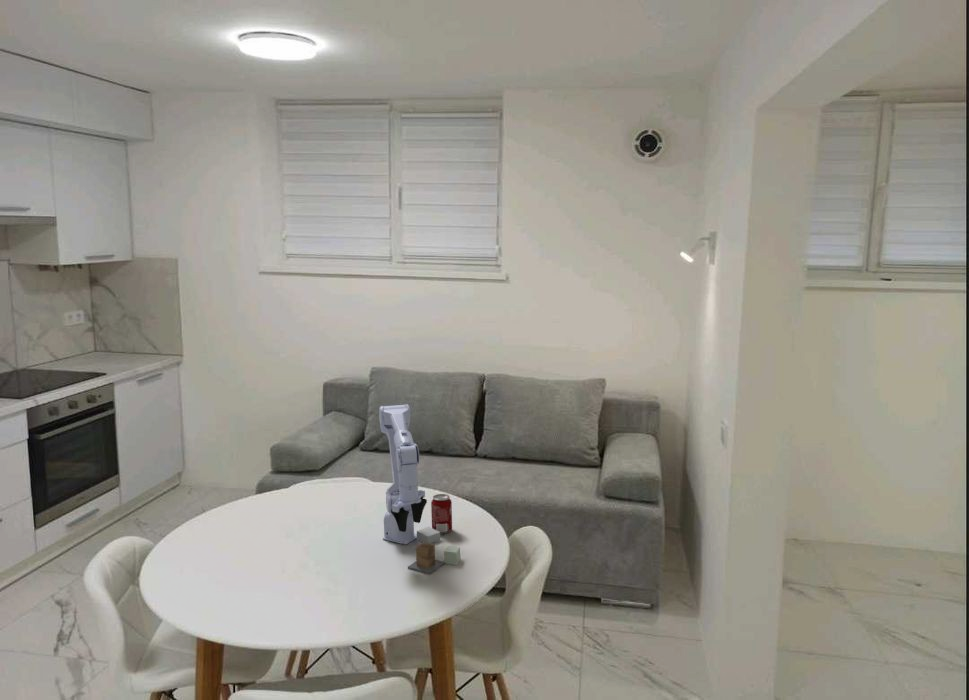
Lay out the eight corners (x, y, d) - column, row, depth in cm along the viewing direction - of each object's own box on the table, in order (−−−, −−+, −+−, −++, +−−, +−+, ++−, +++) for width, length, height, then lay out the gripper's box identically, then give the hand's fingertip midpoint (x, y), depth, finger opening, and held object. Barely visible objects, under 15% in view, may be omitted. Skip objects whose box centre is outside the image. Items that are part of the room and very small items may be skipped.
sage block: (443, 563, 225) (443, 551, 224) (447, 558, 229) (447, 545, 228) (456, 565, 224) (456, 552, 223) (460, 559, 228) (460, 547, 227)
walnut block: (424, 560, 225) (423, 541, 224) (435, 563, 223) (434, 544, 222) (416, 565, 222) (416, 546, 221) (427, 568, 220) (427, 549, 219)
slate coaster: (407, 568, 222) (407, 566, 222) (423, 558, 228) (422, 556, 228) (430, 574, 218) (430, 572, 218) (444, 563, 225) (444, 561, 224)
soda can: (449, 535, 245) (448, 501, 243) (429, 534, 246) (428, 499, 244) (454, 527, 251) (453, 493, 249) (435, 526, 252) (434, 492, 250)
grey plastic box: (416, 539, 242) (416, 531, 242) (428, 535, 246) (428, 526, 245) (428, 545, 238) (428, 536, 238) (440, 540, 241) (440, 532, 241)
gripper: (405, 494, 217) (406, 537, 220) (432, 479, 230) (433, 520, 232) (385, 490, 221) (387, 533, 223) (414, 475, 233) (415, 516, 236)
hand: (409, 526), depth 228 cm, fingers open, 7 cm apart
